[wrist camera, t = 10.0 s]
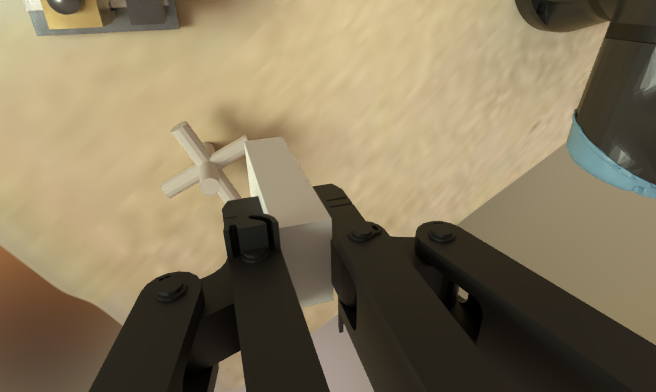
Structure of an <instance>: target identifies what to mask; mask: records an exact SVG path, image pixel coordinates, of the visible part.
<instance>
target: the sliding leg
mask: <svg viewBox="0 0 656 392" xmlns="http://www.w3.org/2000/svg"><path fill="white" fill-rule="evenodd" d="M40 2H41V5H42V8H43V11H44V14H45V17H46V20H47V23H48V26H49V29H70V28H92V27H104V26H106V25H108V24H111V23H113V22H114V20H113V19H115V18H116V14H115V11H111V9H110V5H109V1H108V0H40Z"/></svg>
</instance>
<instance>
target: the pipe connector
mask: <svg viewBox="0 0 656 392" xmlns="http://www.w3.org/2000/svg"><path fill="white" fill-rule="evenodd" d="M171 132H172V134H173V135H174V136H175V138H176V139H177V140H178V142H179V143H180V144H181V146H182V147H183V148H184V150H185V151H186V152H187V154H188V155H189V156H190V158H191V159H192V160H193V161H194V163H195V164H194V165H192V166H190V167H188V168H187V169H185V170H183V171H181V172H180V173H178V174H176V175H175V176H173V177H171V178H169V179H168V180H166V181H164V182H162V183H161V184H160V185H161V188H162V190H163V192H164V193H165V195H166V196H167V197H169V198H172V197H174V196H175V195H177V194H179V193H180V192H182V191H184V190H186V189H187V188H189V187H191V186H193V185H194V184H196V183H198V182H199V181H200V190H201V192H202V193H203V194H205V195H208V196H212V195H215V194H216V193H218V194H219V196H220V197H221V198H222V200H223V201H224V202H225V204H226V202H227V201H230V200H236V199H241V196H240V195H239V194H238V192H237V191H236V189H235V188H234V187H233V185H232V184H231V182H230V181H229V180H228V178H227V177H226V175H225V174H224V173H223V171H222V170H221V169H222V168H224V167H225V166H227V165H229V164H231V163H232V162H234V161H236V160H237V159H239V158H241V157H243V156H244V155H246V154H245V146H244V141H249V139H248V138H247V136H246V135H244V136H242V137H240V138H239V139H237V140H235V141H233V142H232V143H230V144H228V145H227V146H225V147H223V148H221V149H220V150H218V151H216V152H215V148H214V146H213V145H212V144H211V143H209V142H204V143H202V142H201V141H200V139H199V138H198V137H197V135H196V134H195V133H194V131H193V130H192V128H191V127H190V126H189V124H188V123H187V122H186V121H184V122H182V123H180V124H178V125H176V126H175V127H174V128H173V129H172V130H171Z"/></svg>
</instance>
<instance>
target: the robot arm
mask: <svg viewBox="0 0 656 392" xmlns="http://www.w3.org/2000/svg"><path fill="white" fill-rule="evenodd" d="M515 2H516V5H517V8H518V10H519V12H520V14H521V16H522V17H523V18H524V20H525V21H526V22H527V23H528V24H530V25H531V26H533V27H534V28H537V29H539V30H543V31H551V32H569V31H574V30H577V29H581V28H585V27H588V26H592V25H595V24H599V23H603V22H606V21H610V24H609V27H608V30H607V32H606V35H605V37H604V40H603V42H602V45H601V47H600V50H599V53H598V55H597V58H596V61H595V63H594V66H593V68H592V71H591V74H590V76H589V79H588V81H587V84H586V87H585V89H584V92H583V95H582V97H581V100H580V102H579V105H578V108H577V109H575V111H574V113H573V117H572V118H573V123H572V126H571V129H570V132H569V135H568V138H567V143H566V146H567V150H568V152H569V155H570V157H571V158H572V160H573V161H574V162H575V163H576V164H577V165H578V166H579V167H581V168H582V169H583V170H585V171H586V172H588V173H589V174H591V175H592V176H594V177H596V178H598V179H600V180H602V181H604V182H606V183H608V184H610V185H613V186H615V187H617V188H619V189H622V190H625V191H634V192H636V193H638V194H639V195H642V196H646V197H650V198H655V199H656V0H515ZM244 146H245V154H246V162H247V169H248V177H249V185H250V193H251V197H249V198H243V199H236V200H230V201H227V202H226V204H225V206H224V207H223V209H222V213H223V221H224V230H223V233H224V239H225V245H226V250H227V256H228V258H227V260H226V262H225V264H224V265H223V266H222V267H221V268H220V269H219V270H217V271H216V272H215V273H213V274H211V275H209V276H207V277H204V278H202V279H199V278H198V276H196V275H194V274H192V273H190V272H173V273H167V274H165V275H162V276H160V277H157V278H155V279H154V280H153V281H151V282H150V283H148V284H147V285H146V286H145V287H144V289H143V290H142V291H141V293H140V294H139V296H138V298H137V300H136V302H135V304H134V306H133V308H132V310H131V312H130V314H129V315H128V317H127V319H126V321H125V323H124V325H123V327H122V329H121V331H120V333H119V335H118V337H117V338H116V340H115V342H114V344H113V346H112V348H111V350H110V352H109V354H108V356H107V358H106V359H105V361H104V363H103V365H102V367H101V369H100V371H99V373H98V375H97V377H96V379H95V380H94V382H93V385H92V386H91V388H90V390H89V392H214V388H215V383H216V379H217V374H218V369H219V362H220V361H222V360H224V359H226V358H228V357H229V356H231V355H233V354H235V353H237V352H239V351H240V350H241V357H242V364H243V371H244V378H245V385H246V392H330V391H329V388H328V385H327V382H326V379H325V376H324V373H323V370H322V367H321V365H320V361H319V359H318V356H317V353H316V350H315V347H314V344H313V341H312V338H311V336H310V332H309V329H308V327H307V324H306V321H305V318H304V315H303V312H302V309H301V307H305V306H309V305H314V304H318V303H322V302H327V301H331V300H333V286H334V288H335V290H336V293H337V295H338V326H339V332H340V333H341V332H343V324H345V327H346V329H347V331H348V333H349V336H350V338H351V340H352V342H353V344H354V347H355V349H356V351H357V354H358V356H359V358H360V360H361V362H362V365H363V367H364V369H365V371H366V374H367V376H368V378H369V380H370V383H371V385H372V387H373V389H374V392H656V345H654V344H653V343H651V342H649V341H648V340H646V339H644V338H643V337H641V336H639V335H637V334H636V333H634V332H632V331H631V330H629V329H628V328H626V327H624V326H623V325H621V324H619V323H618V322H616V321H614V320H613V319H611V318H609V317H608V316H606V315H604V314H603V313H601V312H599V311H598V310H596V309H595V308H593V307H591V306H590V305H588V304H586V303H585V302H583V301H581V300H580V299H578V298H576V297H575V296H573V295H571V294H569V293H568V292H566V291H565V290H563V289H561V288H560V287H558V286H556V285H555V284H553V283H551V282H550V281H548V280H546V279H545V278H543V277H541V276H540V275H538V274H536V273H535V272H533V271H531V270H529V269H528V268H526V267H525V266H523V265H522V264H520V263H518V262H517V261H515V260H513V259H511V258H510V257H508V256H507V255H505V254H503V253H502V252H500V251H498V250H497V249H495V248H493V247H492V246H490V245H488V244H487V243H485V242H483V241H482V240H480V239H478V238H476V237H475V236H473V235H472V234H470V233H468V232H467V231H465V230H463V229H462V228H460V227H458V226H456V225H454V224H451V223H447V222H443V221H431V222H427V223H424V224H422V225H420V226H419V227H418V228H417V230H416V237H392V236H389V234H388V233H387V232H386V231H385V229H383V228H382V227H381V226H380V225H378V224H375V223H373V222H367V221H365V220H364V218H363V217H362V216H361V214H360V213H359V211H358V210H357V209H356V207H355V206H354V205H353V204H352V202H351V201H350V199H349V198H348V197H347V195H346V194H345V193H344V191H343V190H342V189H341V188H339V187H337V186H335V185H333V184H326V185H319V186H313V187H312V185H311V184H310V182H309V180H308V179H307V177H306V175H305V174H304V172H303V170H302V169H301V167H300V165H299V164H298V162H297V160H296V159H295V157H294V155H293V154H292V152H291V150H290V149H289V147H288V145H287V144H286V142H285V140H284V139H283V137H274V138H265V139H257V140H249V141H244ZM459 287H461V288H462V289H463V290H465V291H466V292H467V293H469V294H468V299H467V300H465V299H463V298H462V297H461V296H459V295H458V291H459Z"/></svg>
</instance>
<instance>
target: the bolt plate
mask: <svg viewBox="0 0 656 392" xmlns="http://www.w3.org/2000/svg"><path fill="white" fill-rule="evenodd" d="M108 1H109V5H110V9H111V11H115V14H116V18H115V19H113V20H114V22H113V23H111V24H108V25H106V26H104V27H92V28H70V29H49V26H48V23H47V20H46V17H45V14H44V11H43V8H42V5H41V2H40V0H23V2H24V5H25V8H26V11H29V14H30V17H31V20H32V23H33V26H34V29H35V32H36V34H37V36H46V35H66V34H86V33H106V32H126V31H147V30H167V29H179V28H180V26H179V21H178V15H177V10H176V4H175V0H108Z"/></svg>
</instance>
